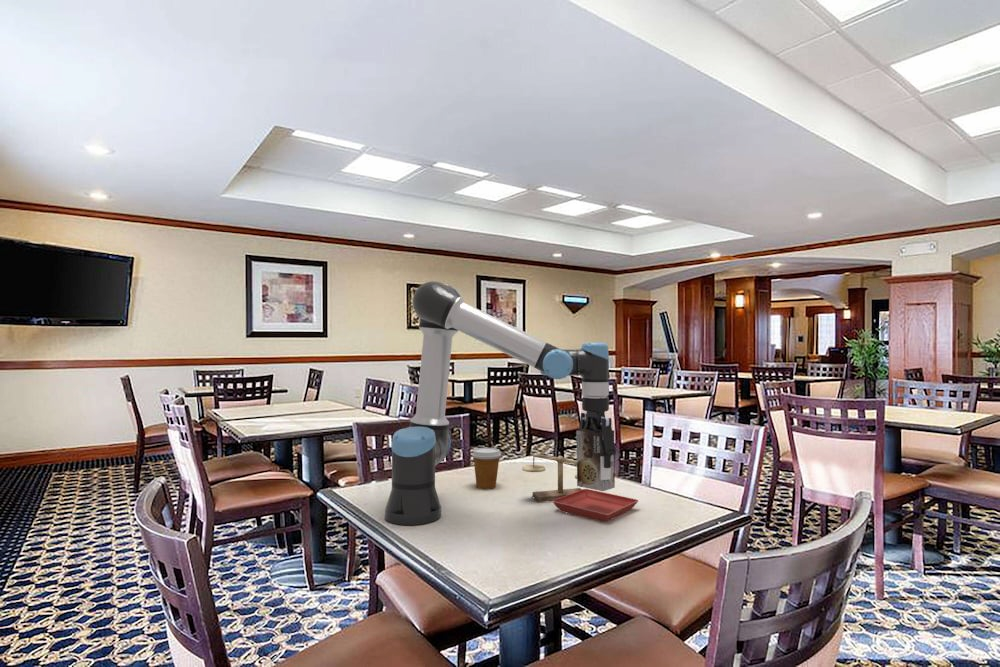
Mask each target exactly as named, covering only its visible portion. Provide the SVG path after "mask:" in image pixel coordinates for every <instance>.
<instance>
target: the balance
mask: <svg viewBox="0 0 1000 667" xmlns="http://www.w3.org/2000/svg"><path fill="white" fill-rule="evenodd" d="M535 458H539V459H543V460H544V459H545V460H549V461H556V463H557V489H552V490H540V491H539V490H538V491H532V498H533V497H534V500H536V501H537V500H538V501H537V502H539V503H547V502H546V501H549V502H552V501H553V500H555V499H558V498H561V497H563V496H566V495H569V494H572V493H574V492H577V491H580V490H583V489H582V487H575V488H574V487H573V488H564V463H568V464H573V465H574V464H575V465H577V460H573V459H567V458H565V457H564V456H562V455H558V456H556V457H555V456H551V455H544V454H538V453H533V454H532V462H533V464H529V465H523V466H522V468H521V469H522V471H524V472H528V473H542V472H545V471H546V466H544V465H538V464H535ZM574 479H576V480H577V473H575V475H574Z"/></svg>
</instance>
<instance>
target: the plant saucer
mask: <svg viewBox="0 0 1000 667" xmlns="http://www.w3.org/2000/svg"><path fill="white" fill-rule="evenodd" d="M551 502H552V503H553V504H554V506H555V507H556V508H558V510H559V511H560V512H563V513H566V512H567V513H566V514H570V515H575V516H578V515H579V517H582V516H583V518H586V517H587V519H590V518H591V520H594V519H595V521H598V520H599V522H602V523H603V522H604V523H605V522H606V521H607V522H609V521H611V520H613V519H615V518H618V517H619V516H621V515H623V514H626V513H628V512H629V510H630V511H631V510H632V509H633V508H634V507H635V506H636V505H637V503H638V502H639V499H635V498H630V497H626V496H622V495H618V494H617V495H616V494H613V493H608V492H605V491H599V490H594V489H589V488H583V489H582V490H580V491H577V492H574V493H572V494H569V495H566V496H563V497H561V498H558V499H555V500H553V501H551ZM627 511H628V512H627ZM608 520H609V521H608Z"/></svg>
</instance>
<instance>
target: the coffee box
mask: <svg viewBox="0 0 1000 667" xmlns="http://www.w3.org/2000/svg"><path fill="white" fill-rule="evenodd" d="M612 433H613V439H614V440H615V430H613V429H612ZM575 434H576V436H575V437H576V461H577V464H576V474H577V479H576V480H577V481H576V486H577V487H578V488H583V489H590V490H594V491H599V492H605V491H609V490H612V489H615V487H616V482H615V479H616V477H615V473H616V472H615V469H616V468H615V465H616V464H615V463H616V462H615V460H616V459H615V455H612V456H611V479H609V480H601V458H600V455H601V454H602V452H601V448H600V444H599V435H600V437H601V439H602V440H603V433H597V432H594V430H593V429H585V428H584V429H581V430H579V429H577V430H576V432H575Z"/></svg>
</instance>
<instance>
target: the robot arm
mask: <svg viewBox="0 0 1000 667" xmlns="http://www.w3.org/2000/svg"><path fill="white" fill-rule="evenodd" d="M412 306H413V311H414V312H415V314H416V315H417V316H418V317H419V324H418V329H419V331H421V332H422V334H423V337H422V338H423V339H422V347H421V348H422V349H421V357H420V367H419V368H420V370H419V378H418V389H417V390H418V391H417V397H416V398H417V401H416V409H415V415H414V416H412V418H410V420H409V427H406V428H401V429H398V430H396V431H395V432H394V434H393V435H392V440H391V441H392V442H391V445H390V447H391V490H390V492H389V497H388V500H387V502H386V504H385V505H386V506H385V509H384V519H385V520H386V521H387V522H389V523H391V524H395V525H401V526H416V525H424V524H430V523H433V522H436V521H437V520H439V519H440V518H441V517H442V504H441V502H440V499H439V496H438V492H437V489H436V466H437V465H438V464H440V463H441V462H443V460H445V459H446V457H447V456H448V454H449V452H450V448H451V445H452V441H451V437H450V434H449V431H450V421H449V420H448V419H447V418H446V410H447V409H446V406H447V397H448V388H449V387H448V385H449V374H450V366H451V365H450V364H451V354H452V344H453V337H454V336H455V335H456V334H457V333H459V332H461V333H463V334H465V335H466V336H469V337H471V338H473V339H475V340H478V341H479V342H481V343H483V344H485V345H488V346H490V347H492V348H493V349H495V350H497V351H499V352H502V353H504V354H505V355H508V356H509V357H512V358H514V359H516V360H517V361H520V362H522V363H524V364H526V365H528V366H530V367H532V368H534V369H536V370H538V371H539V373H540V374H541V375H542V376H548V377H549V378H552V379H554V380H562V379H565V378H567V377H568V376H569V377H570V376H572V377H573V376H576V377H578V376H580V377H581V395H582V396H583V397H582V399H581V401H582V402H581V409H582V410H583V412H580V423H579V424H580V425H579V429H578V430H581V429H584V428H585V429H593V430H594V432H597V433H603V440H602V439H601V437H600V435H599V444H600V448H601V452H602V454H601V455H600V458H601V480H609V479H611V456H612V455H614V456H615V455H617V454H616V447H615V438H614V439H613V433H612V430H613V429H612V418H611V417H606V414H605V413H606V412H608V411H609V410H610V399H609V397H608V396H609V394H610V392H609V391H610V390H609V388H610V385H609V384H610V383H609V381H610V380H609V379H610V378H609V376H610V375H609V372H610V366H609V365H610V358H609V346H608V344H607V343H606V342H583V343H582V344H581V348H579V349H561V348H559V347H557V346H555V345H552V344H551V343H548V342H547V341H544V340H543V339H540V338H538V337H536V336H534V335H533V334H530V333H527V332H526V331H524V330H522V329H519V327H518V328H517V327H516V326H514V325H512V324H510V323H507V322H505V321H503V320H501V319H499V318H497V317H495V316H493V315H491V314H489V313H487V312H485V311H483V310H480V309H478V308H477V307H475V306H472V305H470V304H469V303H466V302H465V300H464V298H463V297H462V295H461V294H460V293H459V292H458V291H457V290H456V289H455V288H453V287H452V286H450V285H446V284H444V283H442V282H440V281H433V280H432V281H431V280H430V281H426V282H424V283H422V284H421V285H420V286H418V287H417V289H415V291H414V293H413V297H412Z"/></svg>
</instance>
